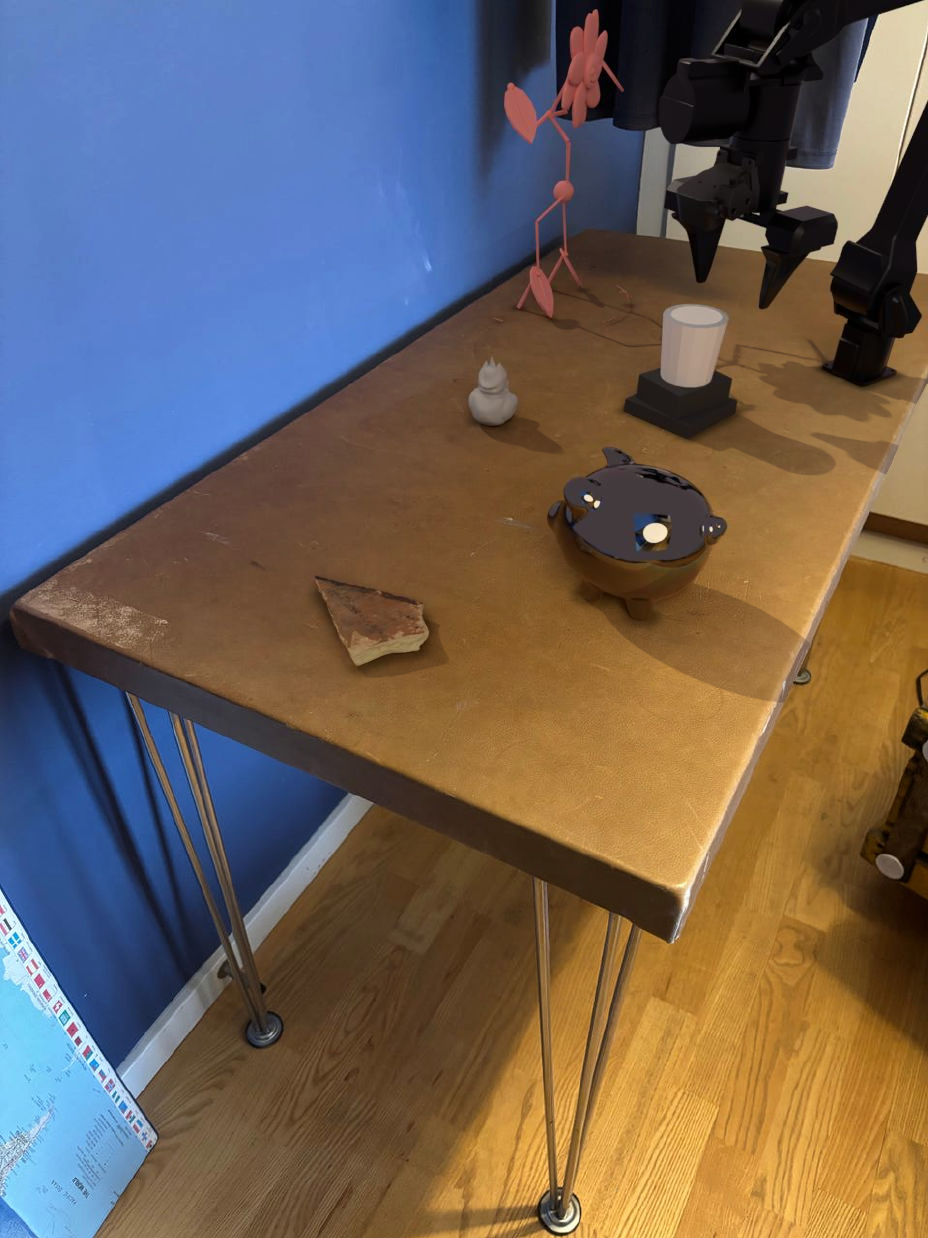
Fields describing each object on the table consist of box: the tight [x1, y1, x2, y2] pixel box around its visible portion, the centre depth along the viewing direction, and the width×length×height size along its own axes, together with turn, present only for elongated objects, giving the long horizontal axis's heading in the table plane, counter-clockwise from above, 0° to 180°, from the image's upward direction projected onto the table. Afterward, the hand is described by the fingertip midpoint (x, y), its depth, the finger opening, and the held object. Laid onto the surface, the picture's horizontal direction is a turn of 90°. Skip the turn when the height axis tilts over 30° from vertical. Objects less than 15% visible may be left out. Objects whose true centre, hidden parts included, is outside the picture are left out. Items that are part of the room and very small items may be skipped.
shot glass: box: [660, 303, 730, 387], centre depth 99 cm, size 7×7×7 cm
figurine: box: [493, 9, 633, 324], centre depth 118 cm, size 15×26×35 cm, turn 151°
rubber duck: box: [468, 355, 519, 427], centre depth 100 cm, size 5×7×8 cm
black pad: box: [635, 367, 733, 419], centre depth 102 cm, size 8×6×3 cm
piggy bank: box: [546, 446, 728, 621], centre depth 75 cm, size 11×15×12 cm
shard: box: [314, 575, 430, 667], centre depth 75 cm, size 11×8×2 cm
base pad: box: [623, 392, 739, 440], centre depth 104 cm, size 9×9×2 cm
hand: (731, 295), depth 98 cm, fingers open, 9 cm apart
